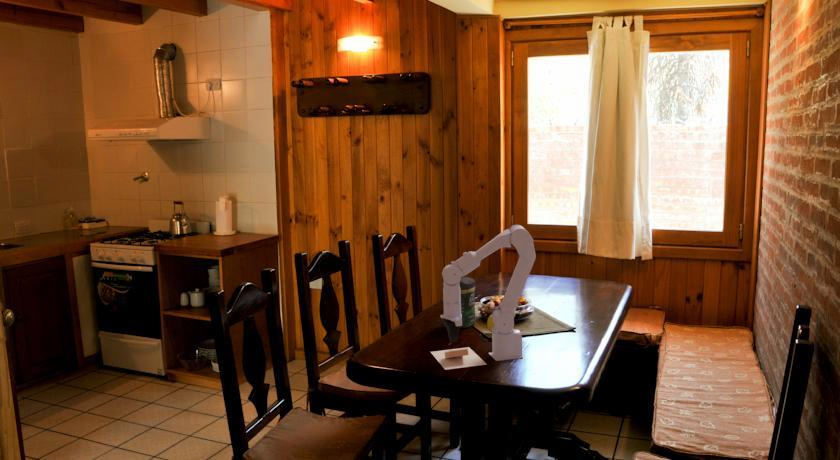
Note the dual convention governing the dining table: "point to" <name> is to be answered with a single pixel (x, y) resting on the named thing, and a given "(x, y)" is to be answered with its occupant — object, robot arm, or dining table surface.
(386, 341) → the dining table surface
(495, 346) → the robot arm
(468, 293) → the coffee jar
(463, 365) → the mat
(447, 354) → the tile
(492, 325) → the lemon
